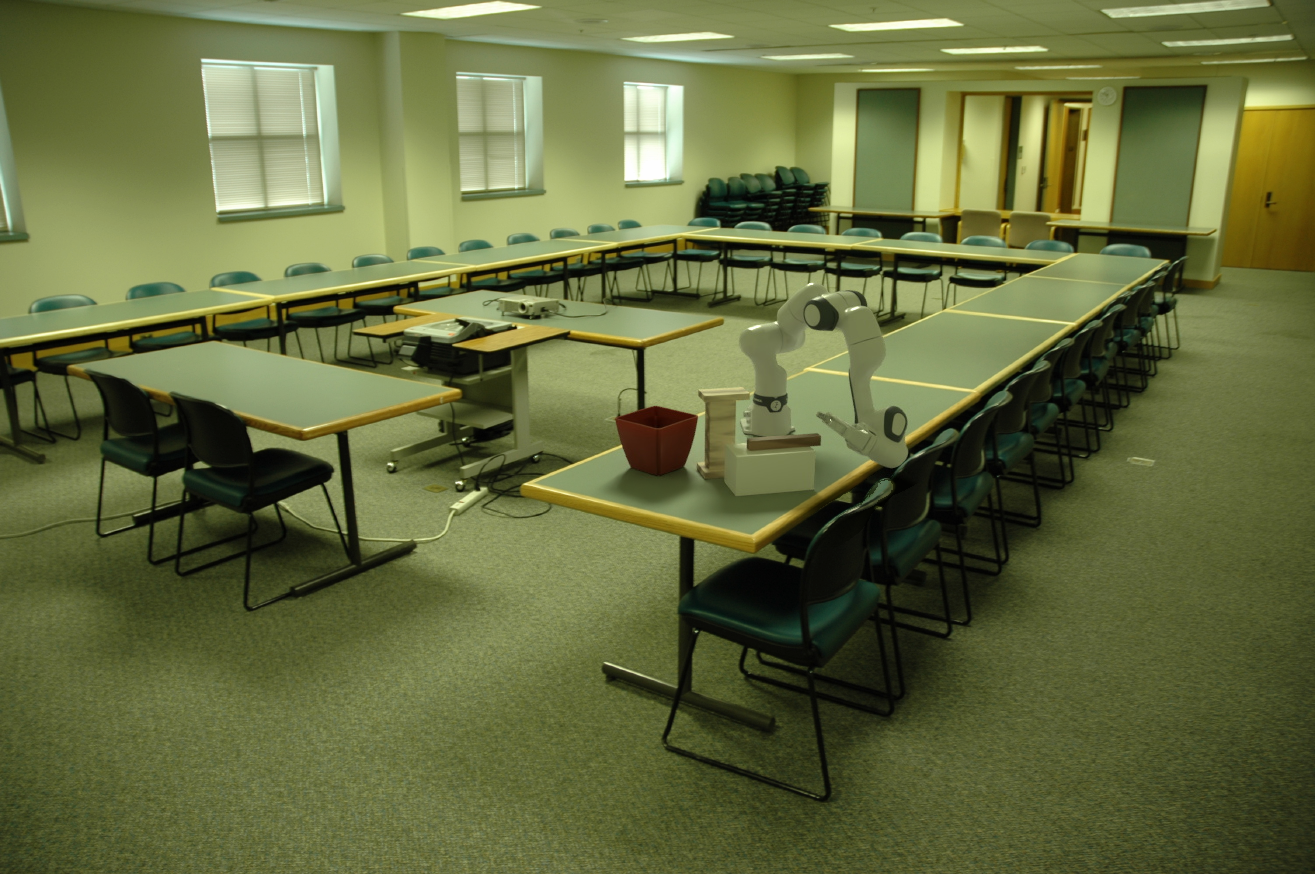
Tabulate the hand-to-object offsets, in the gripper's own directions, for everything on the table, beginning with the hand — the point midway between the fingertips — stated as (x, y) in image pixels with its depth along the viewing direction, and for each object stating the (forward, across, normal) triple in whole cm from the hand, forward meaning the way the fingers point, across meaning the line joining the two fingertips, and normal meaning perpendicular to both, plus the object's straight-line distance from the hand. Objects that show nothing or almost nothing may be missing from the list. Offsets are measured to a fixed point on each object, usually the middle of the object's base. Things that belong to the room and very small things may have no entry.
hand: (823, 418), depth 272 cm
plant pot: (+29, -24, +40) cm, 55 cm away
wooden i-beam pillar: (+13, -15, +31) cm, 36 cm away
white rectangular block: (+4, 0, +26) cm, 26 cm away
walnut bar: (+6, 0, +13) cm, 15 cm away
